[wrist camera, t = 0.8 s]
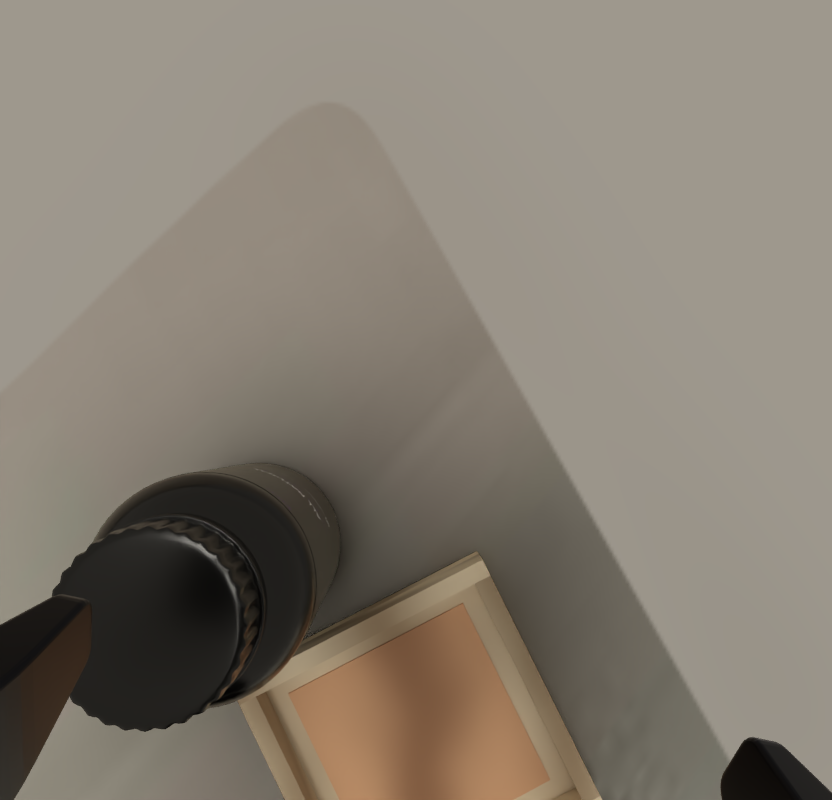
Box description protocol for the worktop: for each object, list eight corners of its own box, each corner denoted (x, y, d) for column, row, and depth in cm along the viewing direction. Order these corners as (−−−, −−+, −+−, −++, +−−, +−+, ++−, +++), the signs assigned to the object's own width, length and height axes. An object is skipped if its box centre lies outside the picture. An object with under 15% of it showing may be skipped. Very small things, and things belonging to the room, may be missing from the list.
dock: (359, 913, 26) (356, 949, 24) (242, 671, 26) (231, 688, 24) (593, 786, 26) (608, 812, 25) (476, 551, 27) (482, 559, 25)
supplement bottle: (345, 463, 27) (304, 488, 15) (338, 625, 26) (291, 786, 14) (183, 457, 27) (8, 479, 15) (174, 620, 26) (-13, 780, 14)
